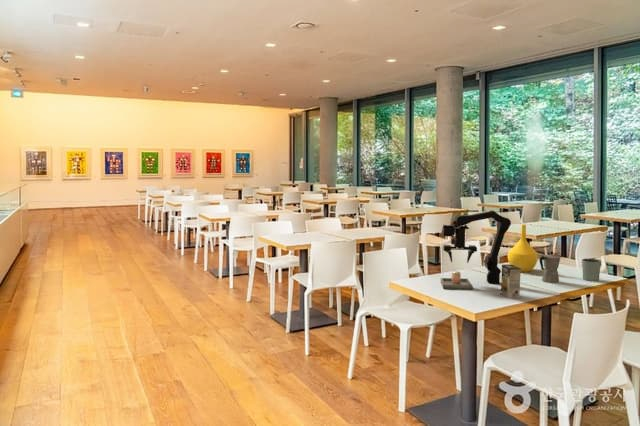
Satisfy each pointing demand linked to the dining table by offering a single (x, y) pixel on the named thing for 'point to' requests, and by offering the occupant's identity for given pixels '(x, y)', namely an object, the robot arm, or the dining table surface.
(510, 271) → the coffee box
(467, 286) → the tray
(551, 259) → the coffeepot
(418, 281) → the dining table surface
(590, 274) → the grey plant pot
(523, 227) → the vase
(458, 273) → the shaker
